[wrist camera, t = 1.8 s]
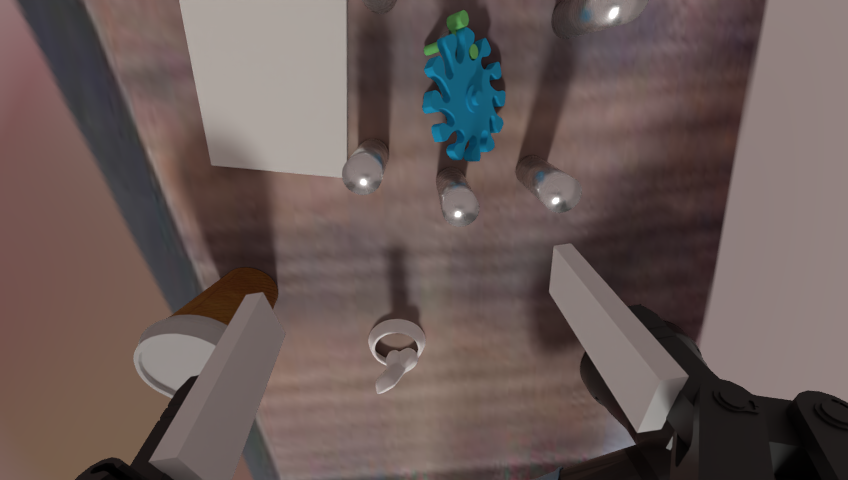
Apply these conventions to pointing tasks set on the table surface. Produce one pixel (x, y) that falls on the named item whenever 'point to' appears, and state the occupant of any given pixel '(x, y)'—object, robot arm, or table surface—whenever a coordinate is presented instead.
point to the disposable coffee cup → (196, 330)
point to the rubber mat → (272, 82)
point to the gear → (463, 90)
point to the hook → (395, 359)
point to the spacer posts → (574, 16)
